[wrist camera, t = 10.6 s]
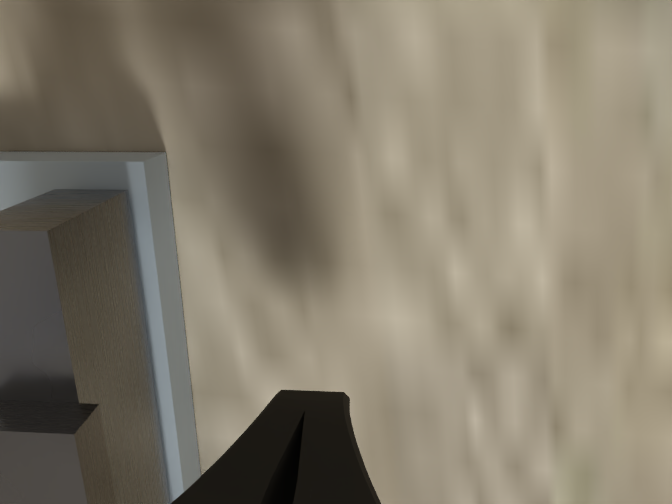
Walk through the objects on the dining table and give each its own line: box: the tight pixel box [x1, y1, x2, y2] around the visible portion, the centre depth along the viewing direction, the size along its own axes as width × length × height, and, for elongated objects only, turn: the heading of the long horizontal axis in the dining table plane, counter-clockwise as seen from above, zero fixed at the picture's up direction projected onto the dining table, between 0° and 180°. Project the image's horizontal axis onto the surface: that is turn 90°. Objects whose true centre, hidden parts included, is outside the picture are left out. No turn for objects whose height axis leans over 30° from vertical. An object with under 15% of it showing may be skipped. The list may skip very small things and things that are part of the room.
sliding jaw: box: [0, 189, 170, 504], centre depth 11 cm, size 2×9×4 cm, turn 1°
